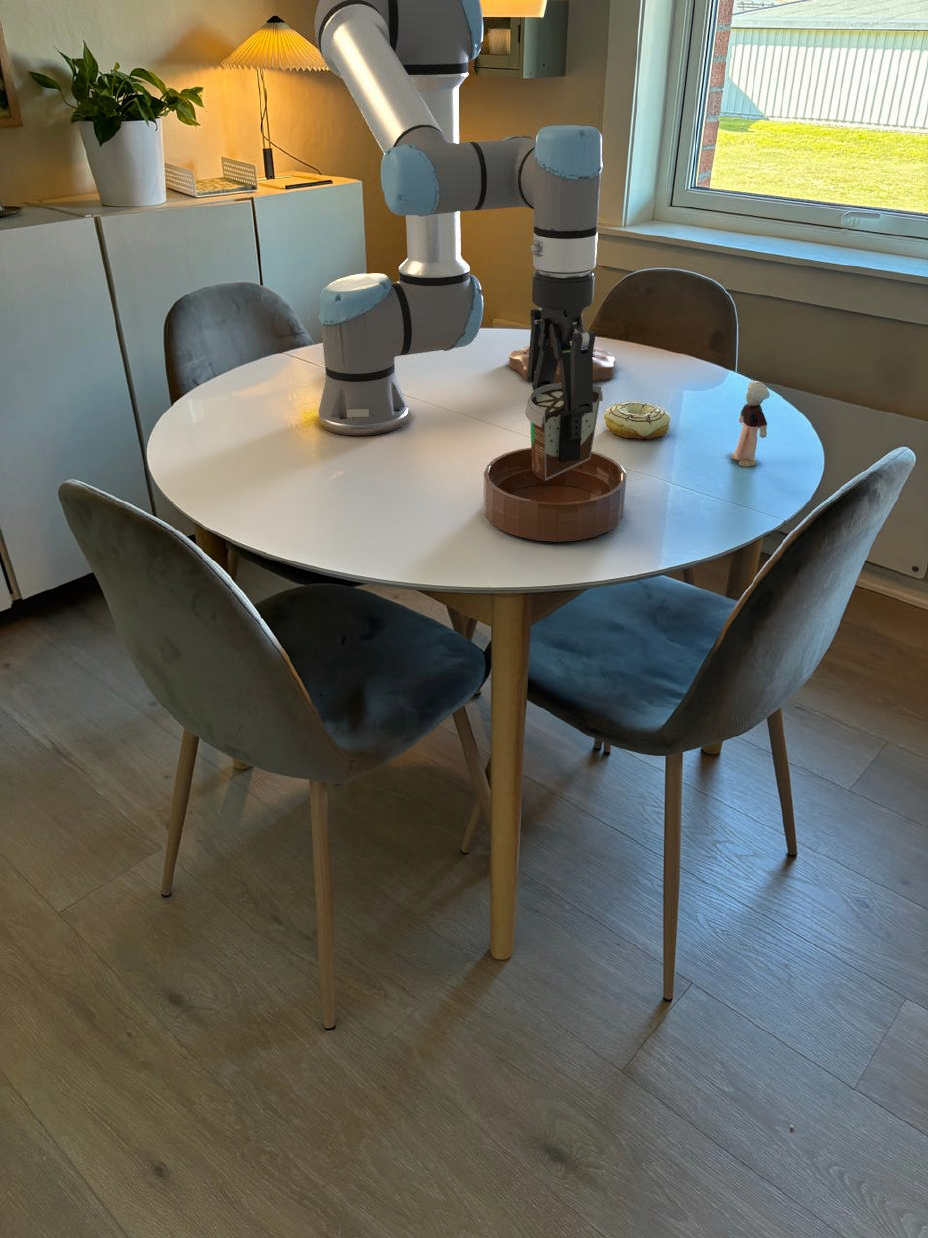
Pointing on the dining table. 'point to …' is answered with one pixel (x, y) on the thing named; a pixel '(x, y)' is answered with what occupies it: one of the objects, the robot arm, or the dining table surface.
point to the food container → (556, 430)
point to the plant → (520, 358)
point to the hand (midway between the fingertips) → (556, 448)
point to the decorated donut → (637, 420)
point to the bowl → (554, 498)
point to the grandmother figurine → (751, 424)
